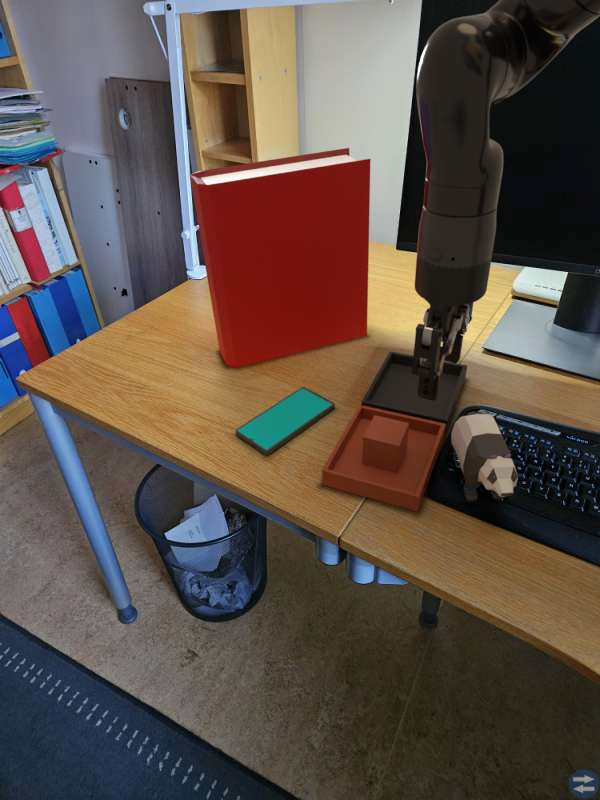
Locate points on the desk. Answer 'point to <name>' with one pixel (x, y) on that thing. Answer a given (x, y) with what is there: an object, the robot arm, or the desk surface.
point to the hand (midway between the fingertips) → (439, 378)
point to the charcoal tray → (414, 390)
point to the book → (285, 253)
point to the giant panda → (483, 455)
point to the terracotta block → (385, 443)
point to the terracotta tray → (380, 483)
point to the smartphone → (284, 420)
